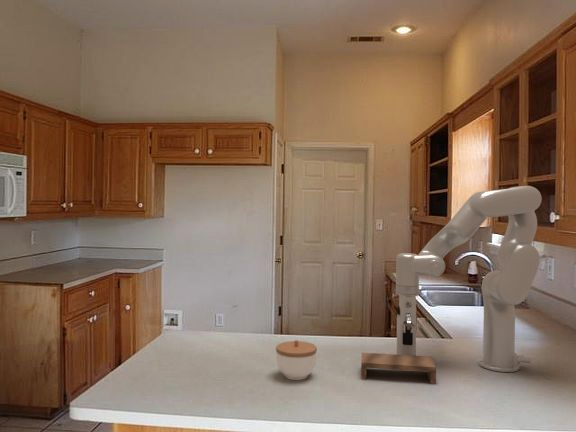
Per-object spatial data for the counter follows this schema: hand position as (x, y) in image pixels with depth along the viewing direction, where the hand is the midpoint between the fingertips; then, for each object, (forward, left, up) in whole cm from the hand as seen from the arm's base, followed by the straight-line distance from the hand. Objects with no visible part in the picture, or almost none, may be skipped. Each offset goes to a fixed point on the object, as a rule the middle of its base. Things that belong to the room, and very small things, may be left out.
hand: (406, 340), depth 154 cm
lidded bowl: (+35, +18, -8) cm, 40 cm away
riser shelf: (+4, +12, -8) cm, 15 cm away
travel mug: (0, 0, -8) cm, 8 cm away
